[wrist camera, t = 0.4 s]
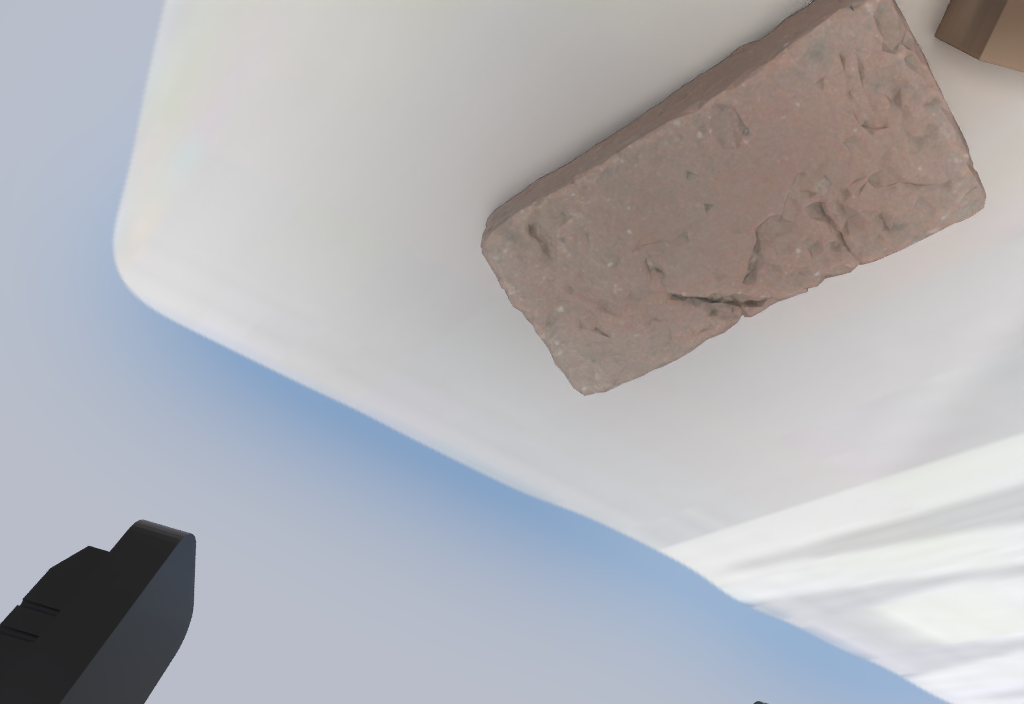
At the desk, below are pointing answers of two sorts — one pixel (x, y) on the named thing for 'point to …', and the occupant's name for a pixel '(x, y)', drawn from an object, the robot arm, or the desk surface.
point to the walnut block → (986, 30)
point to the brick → (736, 194)
